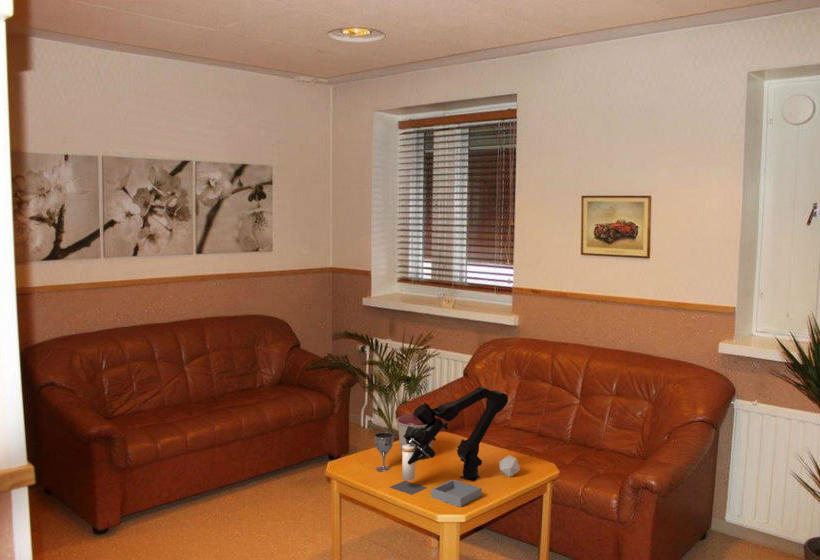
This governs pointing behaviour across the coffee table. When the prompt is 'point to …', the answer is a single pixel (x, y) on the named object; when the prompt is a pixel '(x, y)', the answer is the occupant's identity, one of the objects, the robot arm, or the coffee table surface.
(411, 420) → the canister
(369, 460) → the coffee table surface
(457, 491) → the bin
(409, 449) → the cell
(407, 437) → the robot arm
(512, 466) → the die
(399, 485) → the mat
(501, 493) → the coffee table surface
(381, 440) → the wine glass
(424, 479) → the coffee table surface
